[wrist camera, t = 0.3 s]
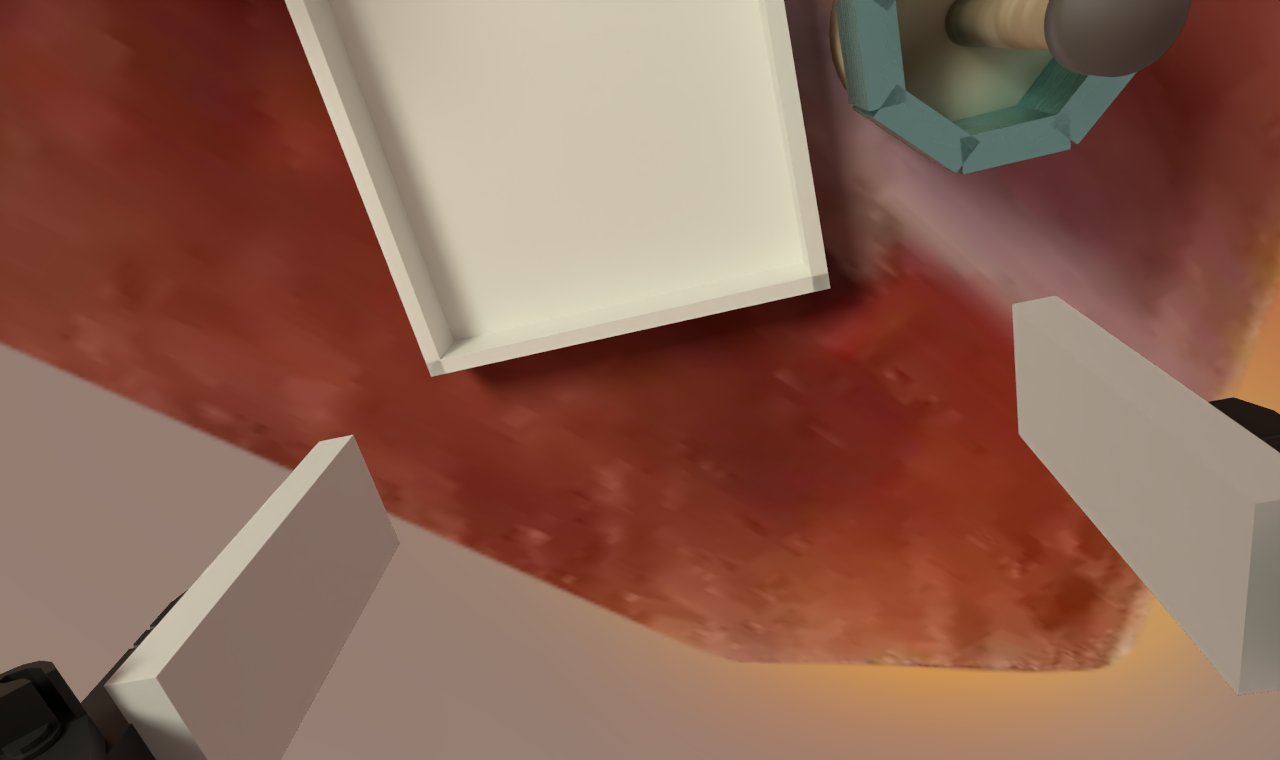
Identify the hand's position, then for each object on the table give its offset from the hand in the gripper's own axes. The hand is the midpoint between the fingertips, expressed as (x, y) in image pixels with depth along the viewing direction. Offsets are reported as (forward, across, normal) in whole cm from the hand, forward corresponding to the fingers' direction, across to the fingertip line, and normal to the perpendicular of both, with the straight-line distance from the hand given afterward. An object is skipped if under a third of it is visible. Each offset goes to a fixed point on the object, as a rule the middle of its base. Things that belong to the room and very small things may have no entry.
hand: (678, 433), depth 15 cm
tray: (+27, -4, +6) cm, 28 cm away
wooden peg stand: (+27, +13, +5) cm, 30 cm away
